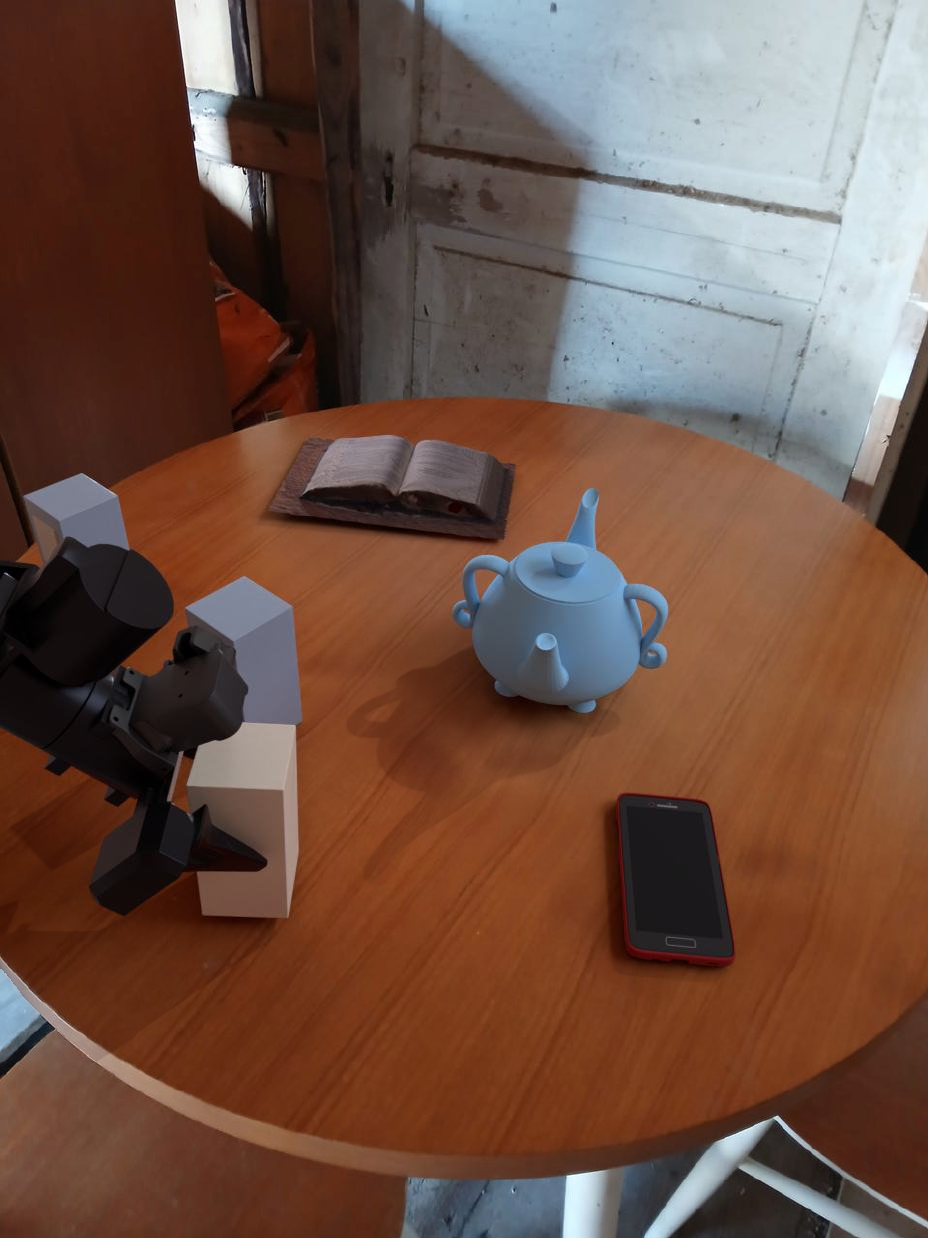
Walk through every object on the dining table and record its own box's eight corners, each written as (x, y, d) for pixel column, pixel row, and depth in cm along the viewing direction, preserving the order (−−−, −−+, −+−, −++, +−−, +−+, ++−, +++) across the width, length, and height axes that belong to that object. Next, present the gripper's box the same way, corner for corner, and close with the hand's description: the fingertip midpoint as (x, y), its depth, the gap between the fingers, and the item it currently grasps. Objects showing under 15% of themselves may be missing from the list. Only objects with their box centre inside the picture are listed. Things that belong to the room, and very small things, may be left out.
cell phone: (625, 959, 64) (627, 951, 63) (614, 798, 75) (616, 790, 75) (735, 970, 63) (738, 963, 63) (707, 806, 75) (710, 799, 74)
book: (504, 546, 104) (508, 512, 101) (265, 516, 105) (264, 481, 103) (515, 472, 120) (519, 440, 118) (308, 446, 122) (308, 414, 119)
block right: (247, 759, 77) (230, 642, 68) (203, 724, 79) (182, 608, 71) (302, 721, 80) (292, 606, 72) (258, 689, 83) (244, 575, 75)
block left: (87, 634, 88) (56, 521, 80) (53, 608, 91) (20, 496, 83) (142, 606, 92) (118, 495, 84) (108, 581, 95) (81, 472, 87)
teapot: (577, 598, 97) (595, 483, 88) (682, 718, 83) (716, 598, 74) (437, 632, 91) (442, 514, 82) (525, 768, 77) (542, 643, 69)
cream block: (199, 915, 63) (182, 785, 56) (216, 848, 68) (202, 720, 61) (288, 918, 64) (283, 790, 56) (298, 851, 69) (295, 724, 61)
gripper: (110, 758, 44) (345, 889, 52) (181, 542, 58) (356, 670, 66) (-15, 860, 48) (220, 967, 56) (80, 635, 63) (256, 745, 70)
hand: (269, 823), depth 62 cm, fingers closed on cream block, 7 cm apart
